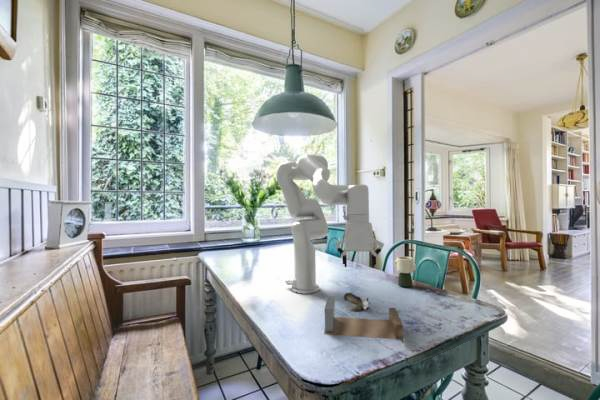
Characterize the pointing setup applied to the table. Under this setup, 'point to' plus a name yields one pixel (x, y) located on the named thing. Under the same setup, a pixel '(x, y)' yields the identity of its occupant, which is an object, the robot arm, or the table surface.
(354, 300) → the eagle figurine
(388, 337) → the wooden book rack
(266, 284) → the table surface
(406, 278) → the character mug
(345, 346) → the table surface
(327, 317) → the bookend
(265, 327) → the table surface
